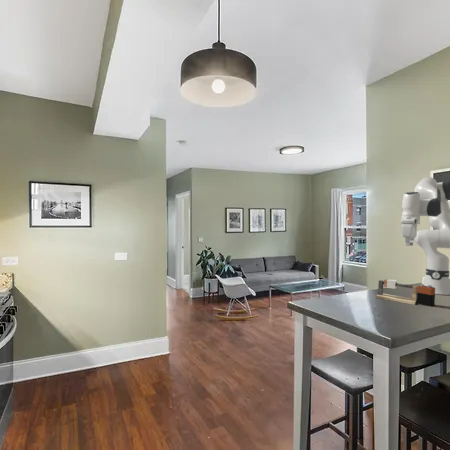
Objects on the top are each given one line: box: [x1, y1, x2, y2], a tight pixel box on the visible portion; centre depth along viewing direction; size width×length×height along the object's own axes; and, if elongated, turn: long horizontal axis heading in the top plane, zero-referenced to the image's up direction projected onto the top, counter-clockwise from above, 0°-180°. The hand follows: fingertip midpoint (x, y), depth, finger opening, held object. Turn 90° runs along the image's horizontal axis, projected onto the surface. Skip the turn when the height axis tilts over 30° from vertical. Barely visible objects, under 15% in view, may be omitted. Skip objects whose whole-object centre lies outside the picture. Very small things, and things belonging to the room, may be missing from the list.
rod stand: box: [375, 279, 418, 306], centre depth 164 cm, size 10×18×10 cm, turn 49°
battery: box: [416, 283, 436, 307], centre depth 156 cm, size 4×7×10 cm, turn 37°
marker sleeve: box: [386, 279, 398, 289], centre depth 165 cm, size 4×4×4 cm
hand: (409, 245), depth 170 cm, fingers open, 8 cm apart
